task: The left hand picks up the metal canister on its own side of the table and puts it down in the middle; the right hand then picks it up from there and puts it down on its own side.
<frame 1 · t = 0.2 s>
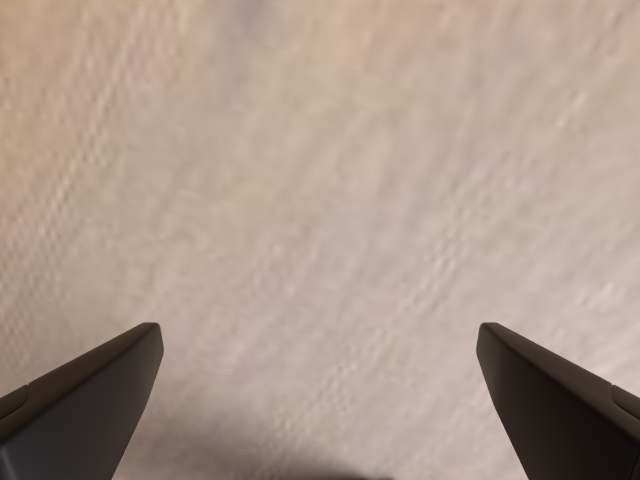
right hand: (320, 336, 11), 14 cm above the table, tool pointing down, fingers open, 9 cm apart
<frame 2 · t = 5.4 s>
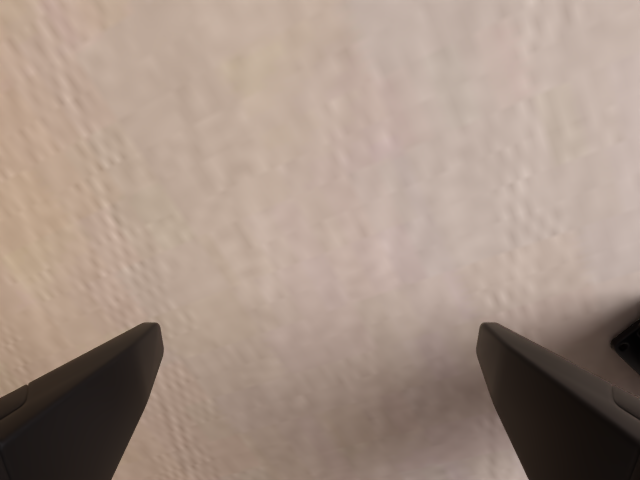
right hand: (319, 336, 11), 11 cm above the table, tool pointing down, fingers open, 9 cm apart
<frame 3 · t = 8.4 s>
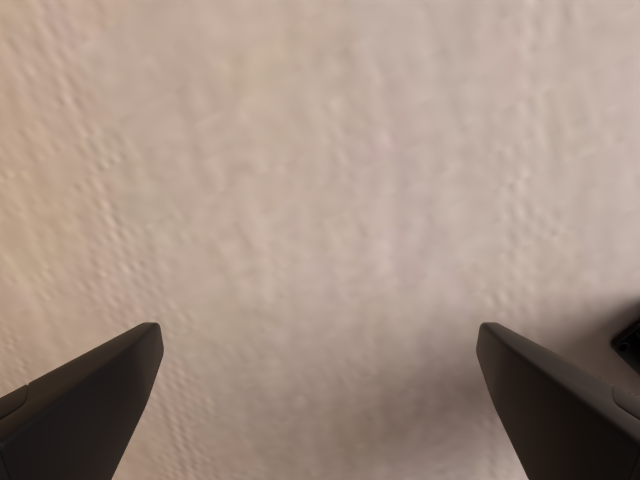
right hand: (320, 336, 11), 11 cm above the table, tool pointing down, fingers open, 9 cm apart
when the left hand's fingers open (1 cm above the table, at t = 11.3 s): canister stays where it is, on the table.
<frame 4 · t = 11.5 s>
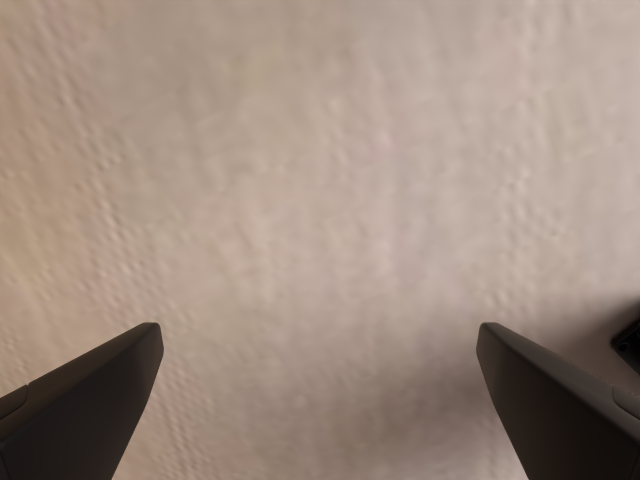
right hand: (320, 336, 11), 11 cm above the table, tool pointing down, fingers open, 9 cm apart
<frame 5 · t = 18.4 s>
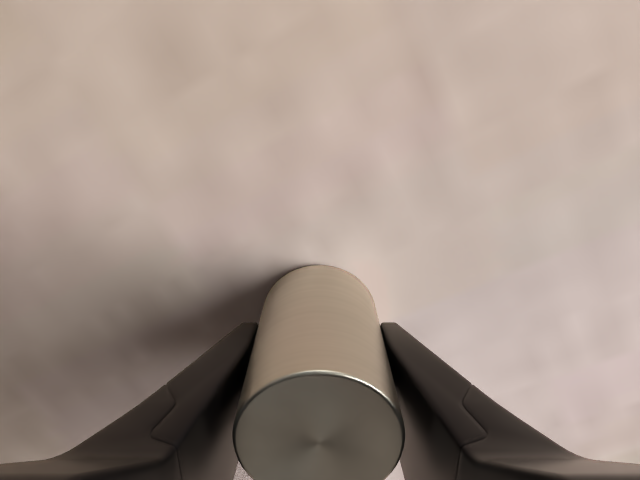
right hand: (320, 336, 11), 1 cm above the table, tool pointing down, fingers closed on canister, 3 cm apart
canister: (319, 315, 12), on the table, touching right hand
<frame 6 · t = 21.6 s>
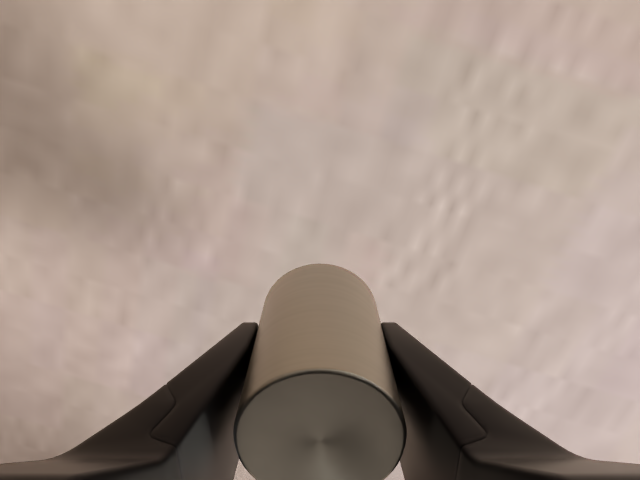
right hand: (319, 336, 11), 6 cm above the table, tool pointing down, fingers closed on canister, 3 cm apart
canister: (320, 313, 12), point 5 cm above the table, touching right hand
when the right hand's fingers open (2 cm above the table, at t = 25.1 s): canister drops 1 cm, on the table.
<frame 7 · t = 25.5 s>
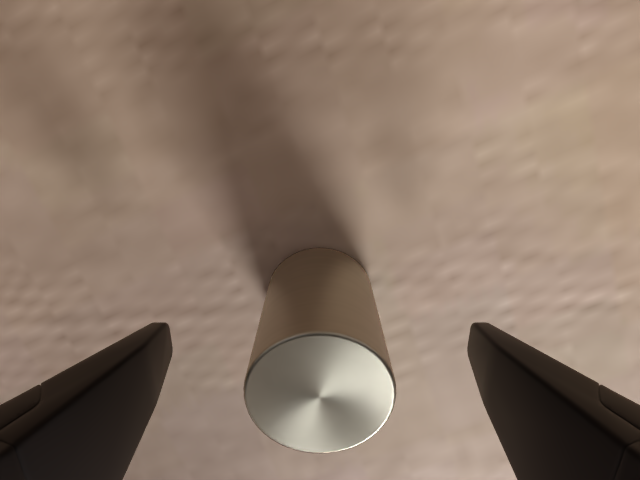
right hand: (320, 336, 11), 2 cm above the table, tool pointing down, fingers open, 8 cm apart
canister: (319, 294, 13), on the table
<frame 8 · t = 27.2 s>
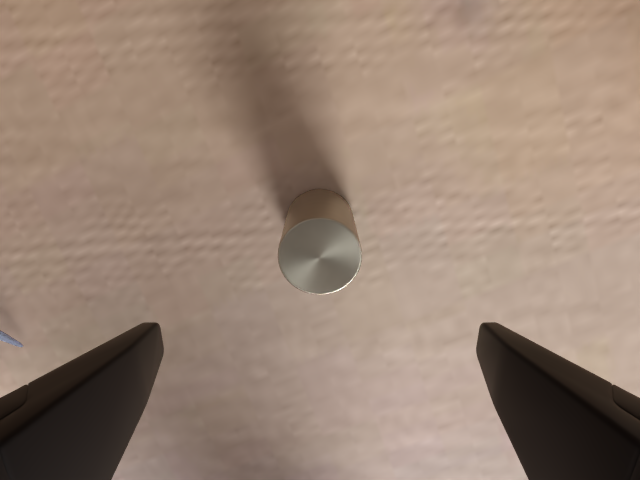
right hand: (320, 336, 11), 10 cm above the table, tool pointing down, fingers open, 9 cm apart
canister: (319, 221, 21), on the table
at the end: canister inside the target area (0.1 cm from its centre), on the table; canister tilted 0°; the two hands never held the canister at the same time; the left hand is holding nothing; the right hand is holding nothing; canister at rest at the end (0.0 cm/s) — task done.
